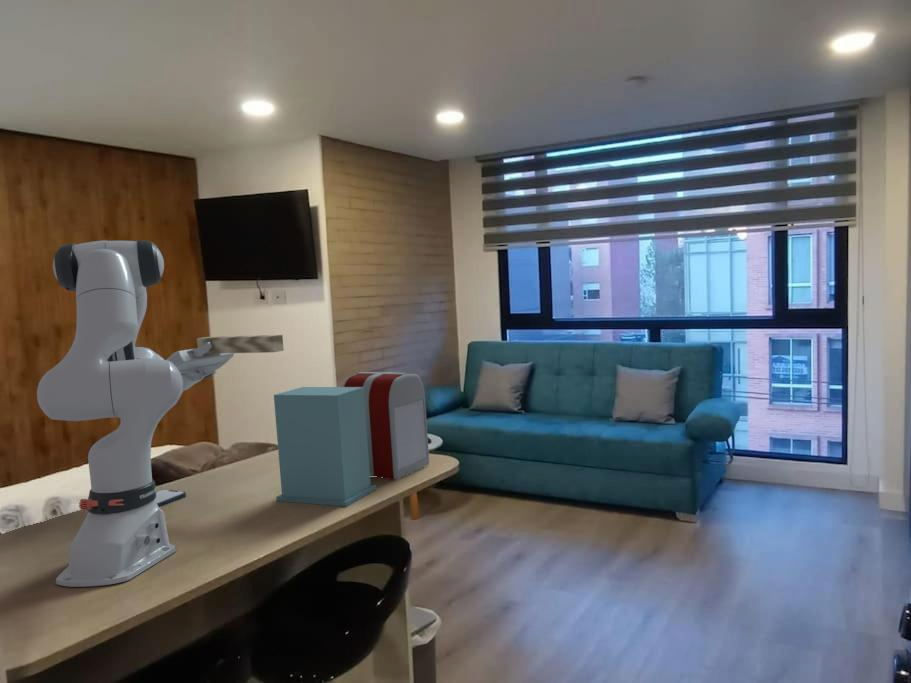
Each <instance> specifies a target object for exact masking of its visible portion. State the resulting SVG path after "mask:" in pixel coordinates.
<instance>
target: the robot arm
mask: <svg viewBox="0 0 911 683" xmlns="http://www.w3.org/2000/svg"><path fill="white" fill-rule="evenodd" d="M52 270H53V274H54V276H55V279H56V280H57V282H58V284H59V286H60V287H62V288H63V289H65V290H67V291H69V292H70V291H71V292H75V298H76V299H75V302H76V325H75V326H76V328H75V335H74V340H73V342H72V345H71V347H70V348H69V350H68V352H67V353H66V355H65V356H64V357H63V358H62V359H61V360H60V361H59V362H58V363H57V364H55V366H54V367H52V368H51V369H49V370H48V371H46V372H45V373H44V375H43V376H42V377H41V379H40V381H39V382H38V385H37V388H36V398H37V403H38V406H39V408H40V410H41V411H42V412H43V414H45V416H47V417H48V418H49V419H51V420H56V421H67V422H68V421H69V422H70V421H72V422H81V421H82V422H83V421H90V420H99V419H106V418H107V419H109V418H119V419H120V423H119V424H120V425H119V426H118V427H117V429H115V430H113V431H112V432H110V433H108V434H107V435H105V436H102V437H101V438H100V439H99V440H97V441H96V442H95V443H94V444H92V446H91V448H90V449H89V451H88V454H87V455H88V456H87V460H88V468H89V469H88V471H89V478H90V481H89V482H90V487H91V488H90V490H89V494H88V497H87V498H81V499H80V500H79V503H78V507H79V509H80V511H85V510H86V511H87V515H86V517H85V519H84V520H83V523H82V524H81V526H80V528H79V530H78V531H77V533H76V535H75V536H74V539H73V540H72V542H71V544H70V546H69V552H68V562H69V563H68V565H67V567H66V568H65V569H63V571H62V572H61V573H60V574H58V576H57V577H56V578H55V584H56V585H58V586H63V587H73V588H74V587H75V588H78V587H79V588H80V587H83V588H84V587H85V588H86V587H99V586H108V585H114V584H115V585H116V584H119V583H124V582H127V581H129V580H131V579H133V578H135V577H136V576H138V575H139V574H141V573H143V572H144V571H146V570H148V569H149V568H151V567H153V566H155V565H156V564H158V563H160V562H161V561H162V560H164V559H166V558H167V557H169V556H171V555H172V554H174V553H175V552H177V550H176V546H175V545H174V544H172V543H170V540H169V539H170V538H169V535H168V529H167V523H166V519H165V518H166V517H165V512H164V511H163V510H162V509H161V507H159V506H158V505H157V503H156V501H155V498H156V492H157V486H156V481H155V480H154V479H153V477H152V476H153V473H152V458H151V457H152V441H153V437H154V433H155V430H156V428H157V427H158V424H159V422H160V421H161V420H162V418H163V417H164V416H165V415H166V414H167V412H169V410H171V409H172V408H173V407H174V406H175V405H176V404H177V403H178V402H179V400H180V398H181V396H182V394H183V393H184V392H185V391H187V390H189V389H190V388H192V386H194V385H197V383H199V382H201V381H202V380H205V379H207V378H210V377H212V376H214V375H216V373H217V370H218V369H221V367H223V366H224V365H225V364H226V363H228V361H230V360H231V359H232V358H233V357H234V354H235V353H207V354H204V353H206V352H207V351H210V350H212V349H213V348H214V344H213V342H207V343H205V344H204V345H202V346H200V347H198V346H197V347H196V348H189V349H188V348H187V349H184V350H178V351H174V352H173V353H172V354H171V355H169V357H167V358H166V359H165V357H163V356H162V355H161V354H159V353H158V352H156V351H155V350H154V349H152V348H150V347H147V346H143V345H136V342H137V338H138V334H139V333H140V329H141V326H142V324H143V321H144V318H145V316H146V313H147V307H148V293H147V292H148V291H147V287H152V286H156V285H157V284H158V283H159V282H160V281H161V280H162V277H163V273H164V271H165V259H164V257H163V255H162V252H161V250H160V249H159V247H158V245H157V244H155V243H154V242H153V241H151V240H150V241H149V240H144V239H143V240H142V239H138V240H136V241H135V240H107V239H105V240H97V241H96V240H95V241H88V242H81V243H77V244H76V243H75V242H74V243H69V244H65V245H61V246H59V247H58V249H57V250H56V251H55V253H54V258H53V261H52Z"/></svg>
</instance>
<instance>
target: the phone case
mask: <svg viewBox="0 0 911 683" xmlns="http://www.w3.org/2000/svg"><path fill="white" fill-rule="evenodd" d="M184 498H187V493H186V491H183V490H182V491H181V490H174V489H173V490H172V489H161V490H159V491H156V498H155V501H156V503H157V505H158V506H159V508H161V507H163V505H164V506H166V505H165V504H167V505H169V504H171V502H172V503H174V501H175V502H177V501H180V500H181V499H184ZM168 503H169V504H168ZM160 506H161V507H160Z"/></svg>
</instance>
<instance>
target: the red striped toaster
mask: <svg viewBox="0 0 911 683" xmlns="http://www.w3.org/2000/svg"><path fill="white" fill-rule="evenodd" d="M342 387H364V399H365V413H366V427H367V441H368V456H369V470H370V476H377V477H383V478H389V479H388V480H392V479H393V480H394V479H397V480H399V478H400V479H402V478H404V477H406V476H408V475H407V474H409V475H411V474H413V473H415V472H417V471H416V470H418V469H420V468H422V467H424V466H426V465H428V464H429V465H430V455H429V437H428V422H427V407H426V406H427V405H426V392H425V387H424V382H422V379H421V378H420V376H419V375H418V374H416V373H408V372H395V371H393V372H392V371H382V372H381V371H380V372H379V371H373V372H372V371H360V372H356V374H352V375H350V376H348V377H347V378H346V379H345V381H344V383H343V385H342ZM426 467H427V466H426ZM424 468H425V467H424ZM422 469H423V468H422ZM420 470H421V469H420ZM414 471H415V472H414ZM418 471H419V470H418ZM412 472H413V473H412ZM410 473H411V474H410ZM405 475H406V476H405ZM403 476H404V477H403ZM401 477H402V478H401ZM383 478H382V479H383Z"/></svg>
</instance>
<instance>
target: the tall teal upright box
mask: <svg viewBox="0 0 911 683" xmlns="http://www.w3.org/2000/svg"><path fill="white" fill-rule="evenodd" d="M273 401H274V402H273V403H274V415H275V425H276V426H275V427H276V438H277V451H278V462H279V463H278V464H279V475H280V486H281V487H280V489H281V494H279V495H277V496H276V497H275V499H276V500H275V501H277V502H284V503H285V502H288V503H299V504H309V505H310V504H311V505H312V504H313V505H322V506H336V507H348V506H349V507H350V506H351V505H352V504H354V503H355V502H357V501H359V500H360V499H362V498H364V497H365V495H366V494H367V495H369V494H370V492H371V491H372V492H374V491H375V489H376V490H377V484H371V477H370V470H369V456H368V441H367V427H366V413H365V399H364V387H343V386H301V387H298V388H294V389H290V390H286V391H284V392H279V393H276V394H273ZM373 490H374V491H373ZM372 492H371V493H372ZM368 493H369V494H368ZM367 495H366V496H367ZM363 496H364V497H363Z"/></svg>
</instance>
